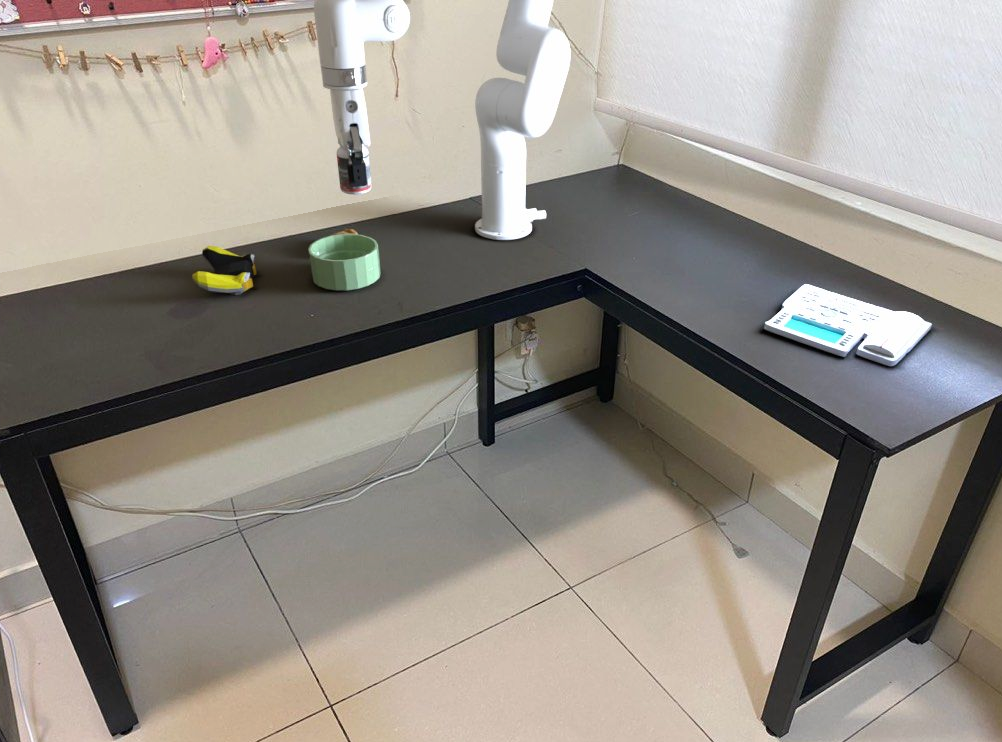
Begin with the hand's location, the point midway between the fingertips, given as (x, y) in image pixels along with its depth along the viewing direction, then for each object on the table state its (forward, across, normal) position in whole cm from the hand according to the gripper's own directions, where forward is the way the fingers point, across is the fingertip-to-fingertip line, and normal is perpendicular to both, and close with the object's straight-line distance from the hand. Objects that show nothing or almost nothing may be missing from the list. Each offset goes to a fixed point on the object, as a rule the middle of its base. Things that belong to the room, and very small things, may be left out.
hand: (355, 179), depth 146 cm
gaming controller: (+19, +4, +26) cm, 32 cm away
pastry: (+19, +13, +2) cm, 24 cm away
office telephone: (+19, -49, -75) cm, 92 cm away
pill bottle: (+2, 0, 0) cm, 2 cm away
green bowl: (+19, 0, +4) cm, 20 cm away
